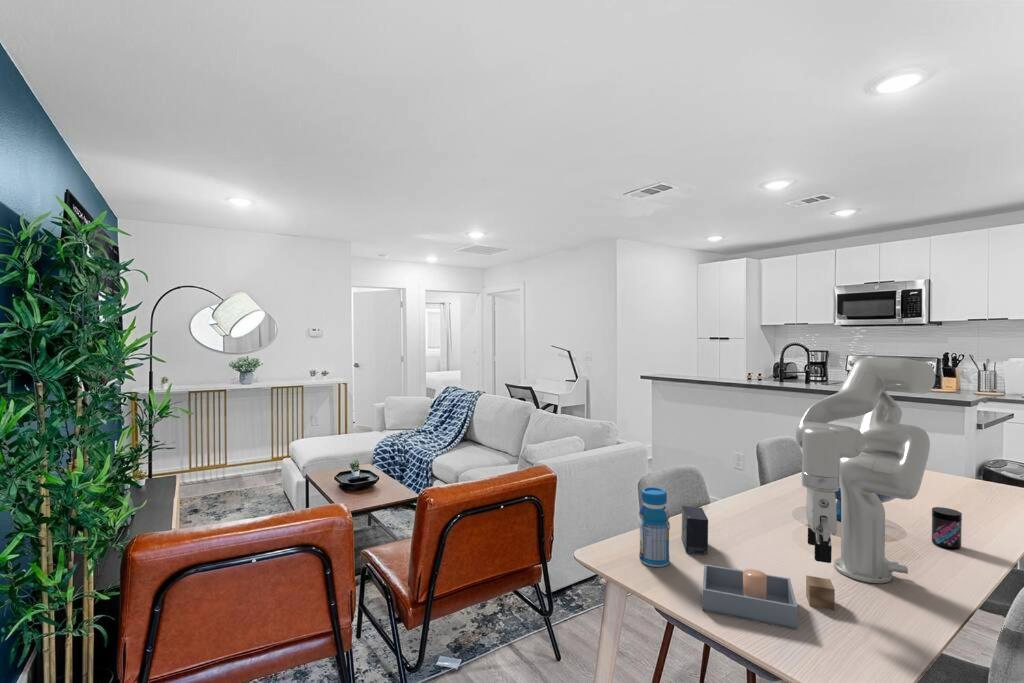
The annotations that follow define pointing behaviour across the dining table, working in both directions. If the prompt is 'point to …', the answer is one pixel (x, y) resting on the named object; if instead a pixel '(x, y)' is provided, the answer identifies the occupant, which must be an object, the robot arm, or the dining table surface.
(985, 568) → the dining table surface
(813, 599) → the walnut cube
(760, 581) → the tan rounded smooth part
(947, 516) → the supplement container
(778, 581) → the tote
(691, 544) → the small box
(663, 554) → the beverage bottle
